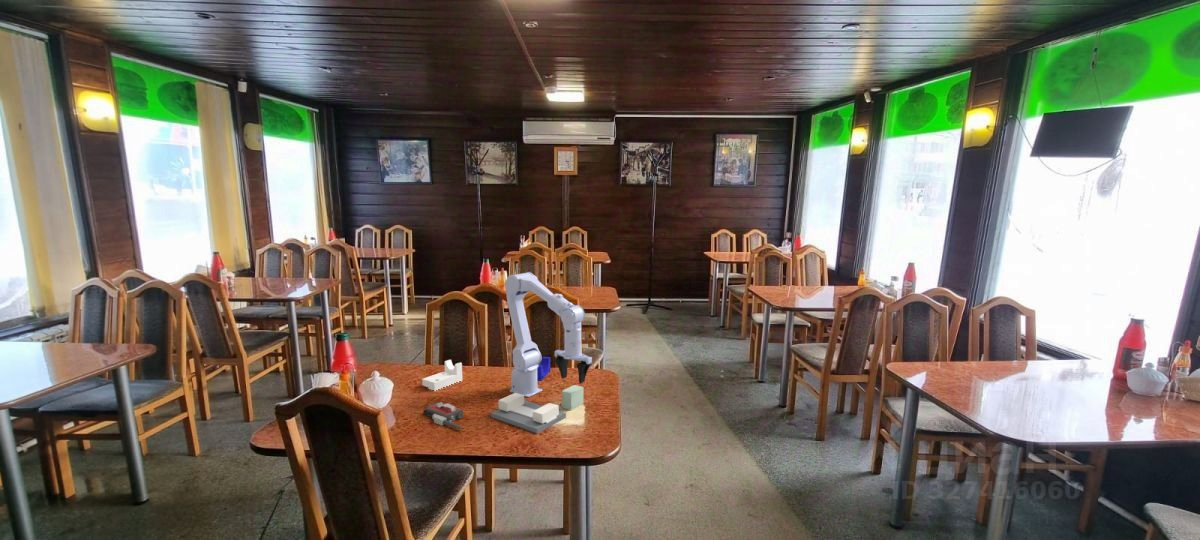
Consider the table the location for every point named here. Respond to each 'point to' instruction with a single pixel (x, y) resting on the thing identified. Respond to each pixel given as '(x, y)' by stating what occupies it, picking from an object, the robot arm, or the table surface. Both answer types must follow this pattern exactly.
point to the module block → (572, 397)
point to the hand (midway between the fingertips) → (572, 380)
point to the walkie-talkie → (444, 414)
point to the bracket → (444, 376)
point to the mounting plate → (527, 413)
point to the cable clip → (543, 368)
